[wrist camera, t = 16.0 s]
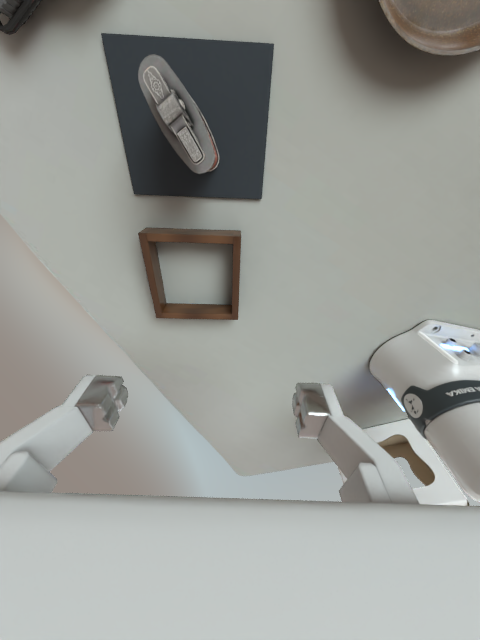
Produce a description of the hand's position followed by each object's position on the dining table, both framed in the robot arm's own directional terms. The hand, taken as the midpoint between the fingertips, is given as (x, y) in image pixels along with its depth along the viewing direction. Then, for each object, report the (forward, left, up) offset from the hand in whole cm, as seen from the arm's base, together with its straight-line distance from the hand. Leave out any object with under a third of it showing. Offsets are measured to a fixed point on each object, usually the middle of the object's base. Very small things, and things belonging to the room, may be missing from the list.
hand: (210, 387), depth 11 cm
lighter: (+4, -11, -26) cm, 28 cm away
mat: (+4, -12, -26) cm, 28 cm away
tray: (+5, +5, -26) cm, 27 cm away
